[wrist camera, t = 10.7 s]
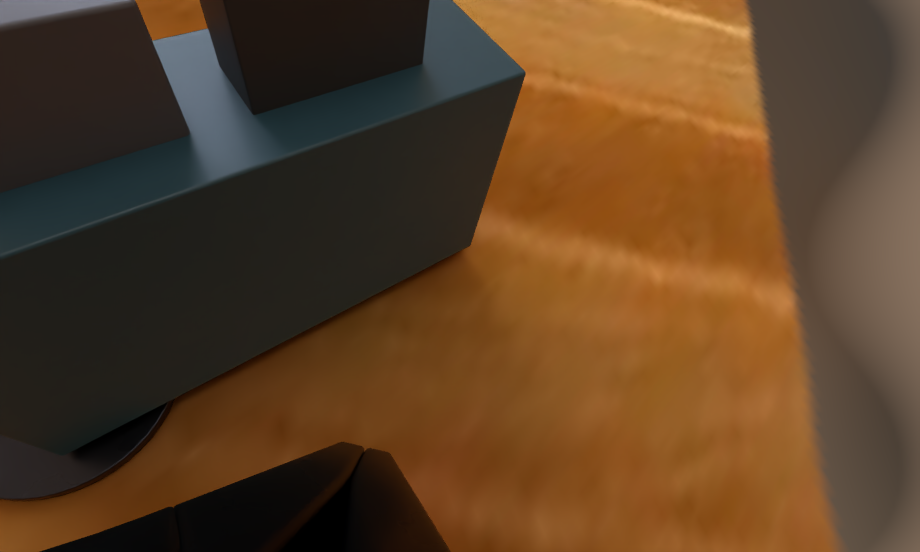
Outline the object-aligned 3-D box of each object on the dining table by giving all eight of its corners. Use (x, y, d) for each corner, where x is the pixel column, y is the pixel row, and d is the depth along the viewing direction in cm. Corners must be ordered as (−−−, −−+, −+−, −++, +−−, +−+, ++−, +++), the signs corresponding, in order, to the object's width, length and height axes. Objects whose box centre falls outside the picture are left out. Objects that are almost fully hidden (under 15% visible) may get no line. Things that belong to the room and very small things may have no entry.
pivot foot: (112, 523, 15) (106, 523, 14) (-120, 473, 15) (-131, 470, 14) (215, 323, 18) (212, 319, 18) (31, 279, 18) (25, 274, 18)
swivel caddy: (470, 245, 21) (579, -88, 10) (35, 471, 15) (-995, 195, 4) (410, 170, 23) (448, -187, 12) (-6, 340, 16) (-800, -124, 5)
